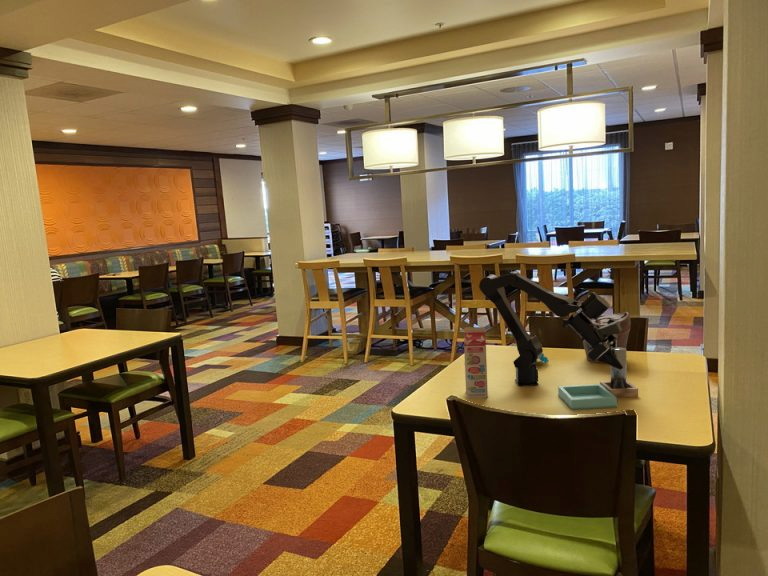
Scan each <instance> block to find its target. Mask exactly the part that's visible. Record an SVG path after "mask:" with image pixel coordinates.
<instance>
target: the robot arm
mask: <svg viewBox="0 0 768 576" xmlns="http://www.w3.org/2000/svg"><path fill="white" fill-rule="evenodd" d="M508 286H514V287H515V288H517V289H518V290H521V291H522V292H524V293H526V294H528V295H529V296H530V297H531V298H534V299H536V300H538V301H539V302H541V303H542V304H544V306H545V307H546V308H547V309H548V310H549V311H550V312H552V313H553V314H554V315H555V316H557V317H559V318H563V319H562V320H561V321H562V329H566V327H568V326H569V327H571V329H573V331H574V332H576V334H577V335H579V337H580V340H581V342H583V340H584V341H585V342H586V343H587V344H588V345H589V346H590V347H591V348H590V351H589V353H588V358H589V359H590V360H591V361H590V360H589V361H590V362H591V363H593V361H594V360H595V359H596V360H597V361H600V362H603V363H602V364H606V365H609V366H610V367H611V366H613V367H615V368H618V369H620V370H621V369H622V368H623V366H622V365H621V363H620V362H619V361H618V359H617V358H616V357H615V355H614V354H613V352H612V348H614V347H617V340H616V341H615V342H612V341H613V340H614V339H616V338H617V337H618V336H617V335H616V334H618V333H620V332H621V330H622V328H621V326H620V322H618V320H617V321H616V320H614V319H613V318H612V319H610V320H608V322H607V325H605V326H602V327H600V326H599V325H597V324H596V325H595V324H594V323H593V322H592V321H591V320H590V319H598V318H599V317H600V316H603V314H605V313H606V312H607V311H608V310H609V309H610V308H611V305H610V303H609V302H608V300H607V299H605V298H604V297H602V296H600V295H599V294H598V293H596V292H595V291H593V292H592V293H591V294H590V295H589V296H588V297H587V298H586V299H585V300H584V301H578V300H573V298H572V297H570V296H567V295H566V294H565V295H564V294H561V293H558V292H553V291H551V290H548V289H547V288H545V287H544V286H541V284H538V283H536V282H534V281H533V280H531V279H530V278H528V277H526V276H524V275H523V274H521V273H520V272H518V271H512V272H509V273H505V274H503V275H499V276H498V275H495V274H491V275H488V276H486V277H483V278H482V279H481V280H480V281H479V285H478V288H479V290H480V292H481V293H482V294H483V296H485V298H486V299H487V300H489V301H490V302H491V303H492V304H493V305H494V307H495V308H496V310H497V312H498V313H499V315H500V317H501V318H502V320H503V321H504V324H505V325H506V327H507V328H508V329H509V331H510V333H511V334H512V336H513V338H514V340H515V343H516V348H517V349H516V350H517V352H518V355H519V356H518V357H516V358H515V359H514V360H513V365H514V368H515V379H514V382H515V383H516V385H517V386H518V387H524V386H528V387H529V386H539V383H538V382H539V370H538V369H537V361H538V360H540V359H539V358H540V357H541V355H542V353H543V352H544V350H543V344H542V343H541V342H540V341H539V338H538V336H537V335H534V336H532V335H531V334H529V333H528V331H527V329H526V328H525V326H524V325H523V323H522V321H521V320H520V318H519V316H518V314H517V313H516V312H515V310H514V308H513V306H512V305H511V303H510V302H509V300H508V297H507V296H506V290H505V287H508ZM580 309H581V310H580ZM579 310H580V311H579ZM578 311H579V312H578ZM576 312H578V313H576ZM570 314H571V315H570ZM568 315H570V316H568ZM585 315H586V316H587V317H586V316H585ZM565 317H567V318H565Z"/></svg>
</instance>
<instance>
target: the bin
mask: <svg viewBox="0 0 768 576" xmlns="http://www.w3.org/2000/svg"><path fill="white" fill-rule="evenodd" d="M557 389H558V390H557V391H558V397H559V398H560V399H561V401H563V402H564V403H565V405H566V406H568V408H570V410H571V411H577V410H578V411H579V410H580V411H581V410H596V409H612V408H613V409H615V408H617V407H618V406H617V404H618V403H617V402H618V401H617V399H618V398H617V397H615V396H614V395H613V394H612V393H610V392H609V391H608V390H607V389H606V388H604V387H603V386H602V385H601V384H600V383H598V384H597V383H595V384H579V385H578V384H577V385H561V386H557Z"/></svg>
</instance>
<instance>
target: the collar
mask: <svg viewBox="0 0 768 576" xmlns="http://www.w3.org/2000/svg"><path fill="white" fill-rule="evenodd" d="M599 384H601V385H602V386H603V387H604V388H606V389H607V390H608V391H609V392H610V393H612V394H613V395H614V396H615V397H617V399H619V398H638V397H639V387H636V386H635V385H633V384H632V383H631V382H629V381H628V380H627V379H626V388H621V389H614V388H612V387H611V380H610V381H599Z"/></svg>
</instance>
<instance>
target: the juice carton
mask: <svg viewBox="0 0 768 576" xmlns="http://www.w3.org/2000/svg"><path fill="white" fill-rule="evenodd" d="M486 341H487V336H486V327H485V326H484V327H483V326H482V327H480V326H479V327H477V326H476V327H475V326H473V327H472V326H471V327H463V347H464V348H463V351H464V369H465V370H464V375H465V398H466V399H488V393H489V392H488V369H487V368H488V365H487V364H488V363H487V342H486Z"/></svg>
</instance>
